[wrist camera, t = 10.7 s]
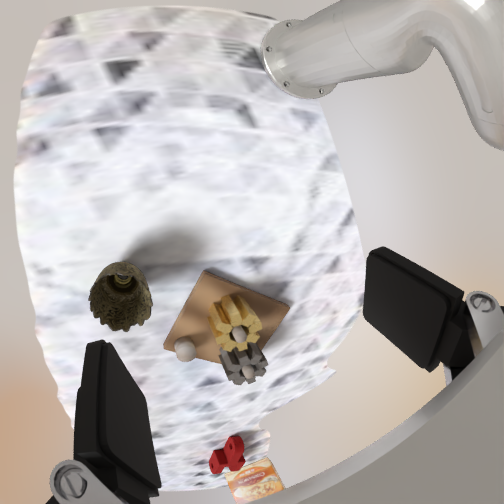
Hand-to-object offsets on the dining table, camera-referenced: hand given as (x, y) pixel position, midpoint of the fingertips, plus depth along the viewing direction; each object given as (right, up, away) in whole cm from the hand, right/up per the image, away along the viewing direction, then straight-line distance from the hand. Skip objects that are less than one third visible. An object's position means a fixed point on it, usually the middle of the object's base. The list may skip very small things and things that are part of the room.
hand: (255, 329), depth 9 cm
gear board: (-4, -9, +35) cm, 36 cm away
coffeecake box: (-1, -65, +60) cm, 89 cm away
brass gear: (-4, -7, +33) cm, 34 cm away
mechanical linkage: (-7, -48, +51) cm, 70 cm away
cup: (-17, 0, +26) cm, 31 cm away
